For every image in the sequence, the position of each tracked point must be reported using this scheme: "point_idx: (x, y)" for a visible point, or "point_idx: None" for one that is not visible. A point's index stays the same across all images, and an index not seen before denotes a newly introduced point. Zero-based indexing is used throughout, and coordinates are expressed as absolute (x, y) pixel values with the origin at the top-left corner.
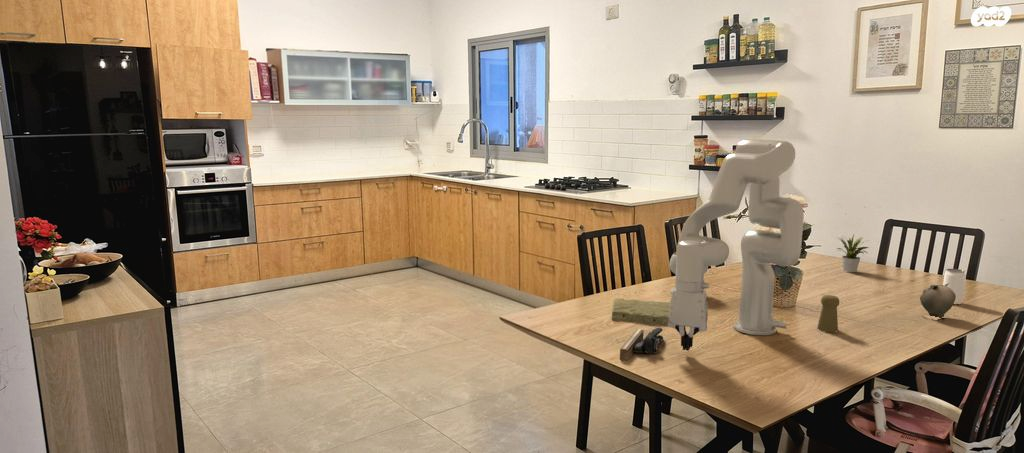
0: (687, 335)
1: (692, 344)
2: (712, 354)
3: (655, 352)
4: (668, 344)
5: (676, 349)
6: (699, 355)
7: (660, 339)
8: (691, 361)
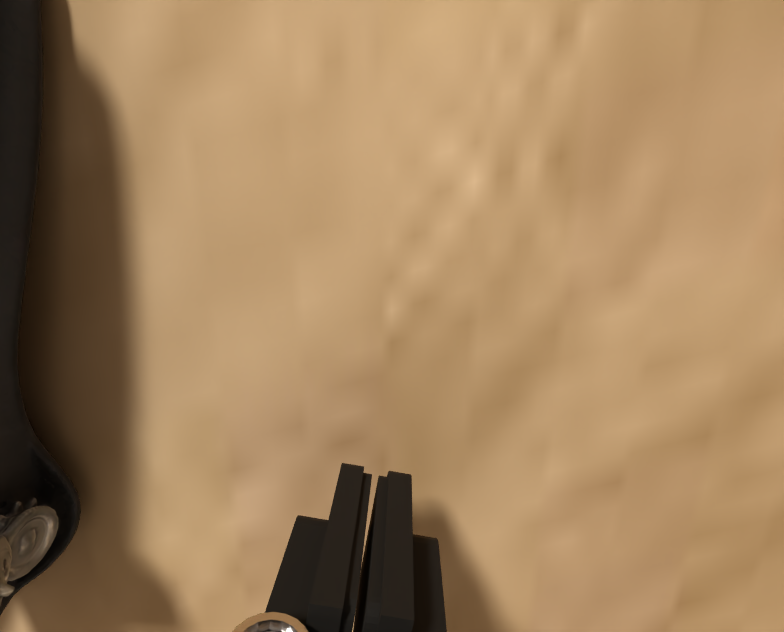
0: (354, 612)
1: (436, 551)
2: (647, 375)
3: (64, 540)
4: (152, 170)
5: (262, 321)
6: (505, 438)
7: (11, 165)
8: None
